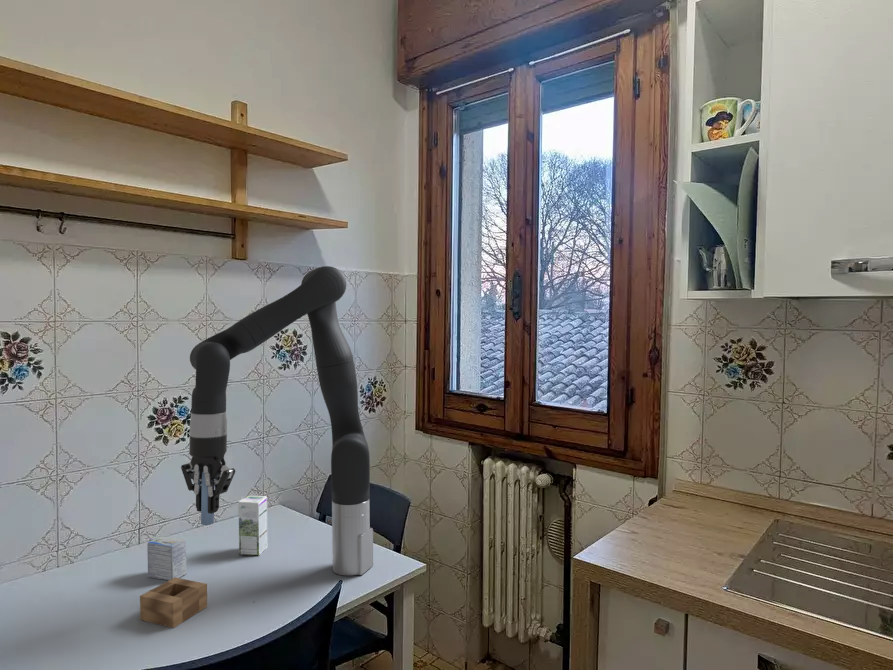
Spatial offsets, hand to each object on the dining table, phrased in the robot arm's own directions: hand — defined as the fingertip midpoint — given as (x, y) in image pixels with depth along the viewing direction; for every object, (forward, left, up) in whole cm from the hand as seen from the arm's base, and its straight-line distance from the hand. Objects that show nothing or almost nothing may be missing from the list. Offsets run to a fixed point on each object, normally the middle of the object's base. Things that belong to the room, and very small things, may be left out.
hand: (207, 511), depth 123 cm
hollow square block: (+3, +6, -20) cm, 21 cm away
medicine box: (+19, -7, -20) cm, 29 cm away
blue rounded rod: (0, 0, -3) cm, 3 cm away
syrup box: (+9, -26, -20) cm, 34 cm away
